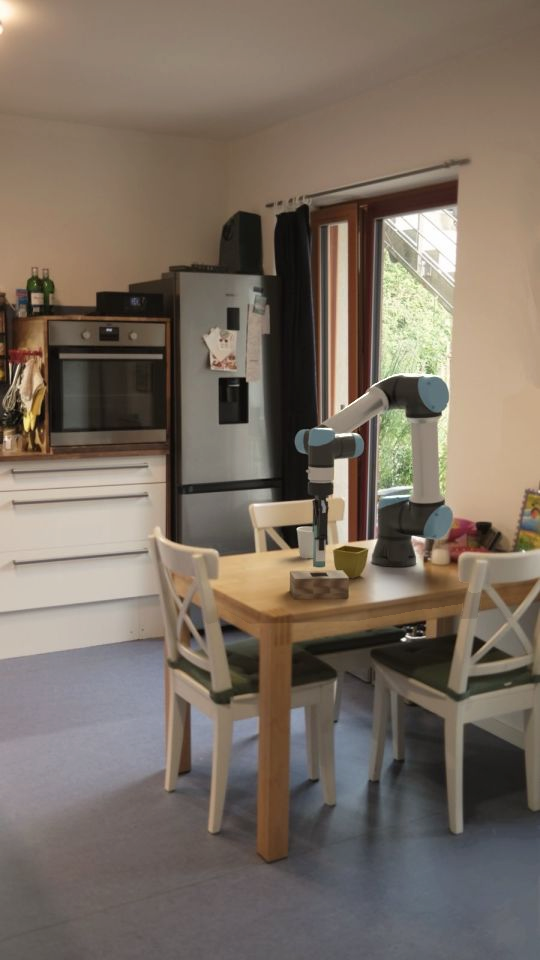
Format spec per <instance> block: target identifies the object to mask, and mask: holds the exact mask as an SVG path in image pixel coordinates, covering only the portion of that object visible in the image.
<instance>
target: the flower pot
mask: <svg viewBox="0 0 540 960" xmlns="http://www.w3.org/2000/svg"><path fill="white" fill-rule="evenodd" d="M332 553H333V562H334V568H335V570H343V572H344V573H345V574H346V575H347V576H348V577H349V579H355V578H358V577H360V576H361V575H362V573H363V572H364V570H365V567H366V565H367V562H368V561H367V560H368V554H369V548H367V547H360V546H353V545H347V544H346V545H341V546H339V547H336V548H334V549H333V550H332Z"/></svg>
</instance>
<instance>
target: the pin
mask: <svg viewBox="0 0 540 960" xmlns="http://www.w3.org/2000/svg"><path fill="white" fill-rule="evenodd" d="M315 538H317V525H315V526H314V539H313V558H312V567H314V568H325V567H326V560H325V561H316V540H315Z"/></svg>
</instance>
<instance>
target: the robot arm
mask: <svg viewBox="0 0 540 960" xmlns="http://www.w3.org/2000/svg"><path fill="white" fill-rule="evenodd" d="M449 402H450V392H449V388H448V385H447V383H446V381H444V379H443V378H442V377H440V376H439V375H434V374H429V373H426V374H425V373H398V374H393V375H391V376H388V377H386V378H384V379H382V380H380V381H379V382H377V383H374V384H373V385H371V386H370V387H368V388H367V389H366V391H365V393H364V394H363V395H362V396H360V397H359V398H357V399H356V400H355V401H352V403H350V404H348V405H347V406H345V407H344V408H342V409H341V410H339V411H338V412H337V413H334V414H333V415H332V416H331V417H328V418H327V419H325V420H324V421H323V422H321V423H320V424H319V425H317V426H316V427H313V428H310V429H309V428H308V429H300V430H299V431H298V432H297V433H296V435H295V438H294V445H295V449H296V450H297V452H299V453H301V454H306V455H308V456H307V457H308V459H307V460H308V461H307V462H308V463H307V466H308V469H306V470H305V472H306V473H307V479H308V480H309V481H308V482H307V494H308V495H310V496H314V499H312V527H313V530H312V531H313V532H314V526H315V525H317V538H315V540H316V561H325V562H326V549H327V548H326V540H327V539H328V521H329V517H328V516H329V508H330V507H329V501H328V500H327V496H332V495H334V482H333V481H334V480H335V460H344V459H345V460H346V459H353V458H358V457H360V456H361V455H362V454H363V452H364V449H365V447H364V446H365V442H364V439H363V438H362V435H360V434H359V433H356V432H353V431H354V430H356V429H357V428H359V427H360V426H362V425H364V424H365V423H366V422H369V420H371V419H373V418H374V417H376V416H377V415H383V414H386V413H387V412H388V411H392V410H403V411H405V418H406V419H407V420H408V421H409V422H410V436H411V437H410V438H411V439H410V442H411V443H410V444H411V464H412V465H411V466H412V490H413V491H412V492H413V493H412V494H401V495H400V494H398V495H396V494H395V495H387V496H382V497H380V498H379V500H378V506H377V539H376V542H375V546H374V548H373V551H372V553H371V562H372V564H375V565H377V566H382V567H392V568H393V567H394V568H400V567H401V568H404V567H410V566H415V565H416V564H417V554H416V551H415V548H414V545H413V541H412V539H413V538H412V537H417V538H422V539H426V540H438V541H439V540H441V539H443V538H445V536H447V534H448V532H449V531H450V529H451V528H452V525H453V520H454V519H453V518H454V514H453V510H452V509H451V507H450V506H448V504H447V505H446V502H445V501H446V497H445V496H444V495H443V494H442V493H441V491H440V488H441V487H440V486H441V485H440V464H439V463H440V461H439V459H440V457H439V434H438V433H439V430H438V421H439V420H440V418H442V416H443V412H444V411H445V410H446V408H447V407H448V404H449ZM313 534H314V533H313Z"/></svg>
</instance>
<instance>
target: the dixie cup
mask: <svg viewBox="0 0 540 960" xmlns="http://www.w3.org/2000/svg"><path fill="white" fill-rule="evenodd" d="M312 530H313V526H299V527H297V528H296V533H297V543H298V552H299V558H301V557H302V558H301V559H306V558H311V559H313V539H314V534H313V533H314V532H313V531H312Z"/></svg>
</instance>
